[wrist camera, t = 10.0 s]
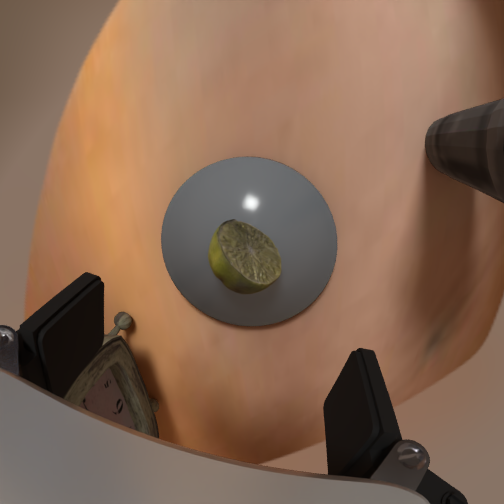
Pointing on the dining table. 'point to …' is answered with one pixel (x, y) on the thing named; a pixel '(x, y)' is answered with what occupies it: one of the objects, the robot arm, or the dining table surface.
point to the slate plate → (263, 218)
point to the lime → (243, 257)
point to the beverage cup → (471, 147)
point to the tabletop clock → (115, 385)
